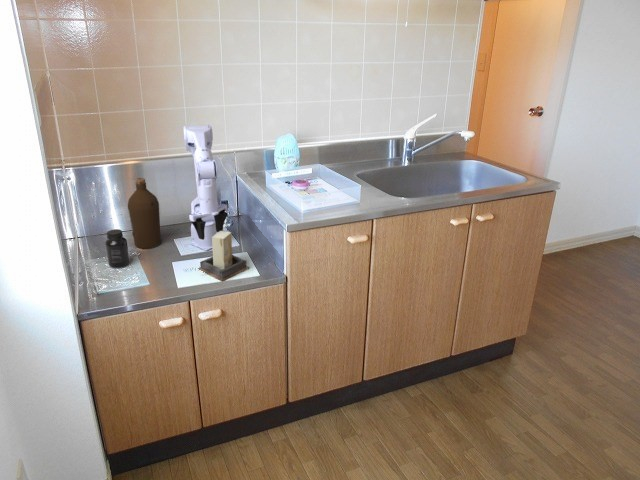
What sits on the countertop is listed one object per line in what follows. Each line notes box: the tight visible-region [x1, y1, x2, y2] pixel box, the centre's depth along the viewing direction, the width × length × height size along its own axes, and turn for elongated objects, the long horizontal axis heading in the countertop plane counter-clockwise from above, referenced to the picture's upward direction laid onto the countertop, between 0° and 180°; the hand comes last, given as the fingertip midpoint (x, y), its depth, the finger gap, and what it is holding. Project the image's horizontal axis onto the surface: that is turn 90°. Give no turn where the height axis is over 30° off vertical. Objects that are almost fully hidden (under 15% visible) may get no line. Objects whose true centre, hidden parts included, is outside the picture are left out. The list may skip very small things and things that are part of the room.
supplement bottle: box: [104, 228, 130, 269], centre depth 166 cm, size 7×7×12 cm
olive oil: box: [127, 177, 162, 250], centre depth 179 cm, size 11×11×25 cm
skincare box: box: [212, 230, 233, 270], centre depth 165 cm, size 6×4×12 cm
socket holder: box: [197, 254, 250, 282], centre depth 167 cm, size 12×12×3 cm
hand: (210, 235), depth 168 cm, fingers open, 7 cm apart
